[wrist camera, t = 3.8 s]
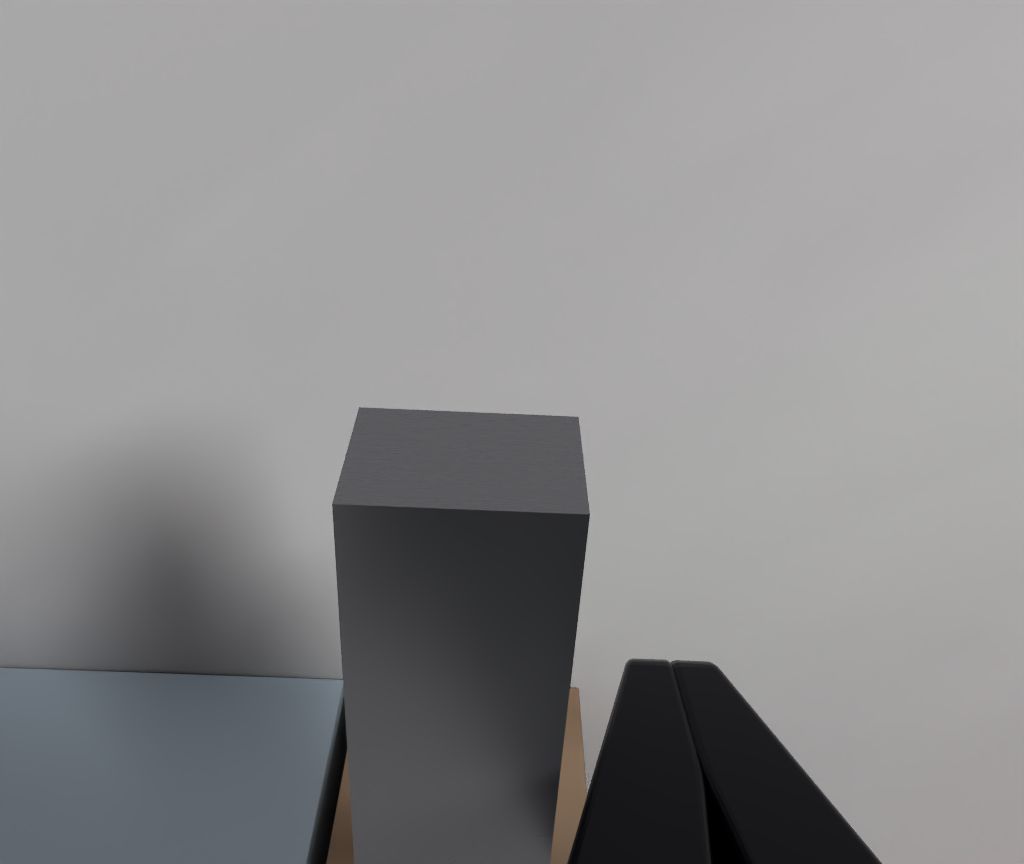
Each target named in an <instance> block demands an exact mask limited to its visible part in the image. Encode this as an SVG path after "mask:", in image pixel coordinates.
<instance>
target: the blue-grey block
mask: <svg viewBox="0 0 1024 864" xmlns="http://www.w3.org/2000/svg"><path fill="white" fill-rule="evenodd" d="M346 754H347V735H346V719H345V702H344V686H343V680H332V679H304V678H276V677H248V676H220V675H192V674H164V673H136V672H108V671H80V670H52V669H24V668H0V864H326V862H327V857H328V852H329V846H330V841H331V835H332V830H333V824H334V819H335V814H336V808H337V803H338V797H339V792H340V787H341V781H342V776H343V770H344V765H345V760H346Z"/></svg>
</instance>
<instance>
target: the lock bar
mask: <svg viewBox="0 0 1024 864" xmlns="http://www.w3.org/2000/svg"><path fill="white" fill-rule="evenodd" d="M332 506H333V522H334V539H335V555H336V571H337V588H338V604H339V621H340V637H341V653H342V670H343V686H344V702H345V719H346V735H347V751H348V768H349V784H350V800H351V817H352V833H353V849H354V864H550V859H551V850H552V841H553V833H554V824H555V815H556V806H557V797H558V789H559V780H560V771H561V762H562V754H563V745H564V736H565V727H566V718H567V710H568V701H569V692H570V683H571V674H572V666H573V657H574V648H575V639H576V631H577V622H578V613H579V604H580V595H581V587H582V578H583V569H584V560H585V552H586V543H587V534H588V525H589V516H590V513H589V504H588V495H587V487H586V478H585V470H584V461H583V453H582V444H581V435H580V427H579V418H578V417H569V416H545V415H522V414H499V413H475V412H452V411H429V410H405V409H382V408H359V410H358V414H357V417H356V421H355V425H354V428H353V432H352V435H351V439H350V443H349V446H348V450H347V453H346V457H345V461H344V464H343V468H342V471H341V475H340V478H339V482H338V486H337V489H336V493H335V496H334V500H333V504H332Z"/></svg>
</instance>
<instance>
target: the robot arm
mask: <svg viewBox="0 0 1024 864" xmlns="http://www.w3.org/2000/svg"><path fill="white" fill-rule="evenodd" d="M567 864H882V863H881V862H880V861H879V859H878V858H877V857H876V856H875V855H874V853H873V852H872V851H871V850H870V849H869V847H868V846H867V845H866V844H865V843H864V841H863V840H862V839H861V838H860V837H859V835H858V834H857V833H856V832H855V831H854V829H853V828H852V827H851V826H850V825H849V823H848V822H847V821H846V820H845V819H844V817H843V816H842V815H841V814H840V813H839V811H838V810H837V809H836V808H835V807H834V805H833V804H832V803H831V802H830V801H829V800H828V798H827V797H826V796H825V795H824V794H823V792H822V791H821V790H820V789H819V788H818V786H817V785H816V784H815V783H814V782H813V780H812V779H811V778H810V777H809V776H808V774H807V773H806V772H805V771H804V770H803V768H802V767H801V766H800V765H799V764H798V762H797V761H796V760H795V759H794V758H793V756H792V755H791V754H790V753H789V752H788V750H787V749H786V748H785V747H784V746H783V744H782V743H781V742H780V741H779V740H778V738H777V737H776V736H775V735H774V734H773V732H772V731H771V730H770V729H769V728H768V726H767V725H766V724H765V723H764V722H763V720H762V719H761V718H760V717H759V716H758V714H757V713H756V712H755V711H754V710H753V708H752V707H751V706H750V705H749V704H748V702H747V701H746V700H745V699H744V698H743V696H742V695H741V694H740V693H739V692H738V690H737V689H736V688H735V687H734V686H733V684H732V683H731V682H730V681H729V680H728V678H727V677H726V676H725V675H724V674H723V672H722V671H721V670H720V669H719V668H718V667H717V666H716V665H714V664H713V663H711V662H704V661H680V660H675V661H672V662H671V663H670V662H669V661H667V660H655V659H630V660H629V661H628V662H627V663H626V665H625V668H624V671H623V675H622V678H621V682H620V685H619V688H618V692H617V695H616V699H615V702H614V705H613V709H612V712H611V716H610V719H609V722H608V726H607V729H606V733H605V736H604V739H603V743H602V746H601V750H600V753H599V757H598V760H597V763H596V767H595V770H594V774H593V777H592V780H591V784H590V787H589V791H588V794H587V797H586V801H585V804H584V808H583V811H582V814H581V818H580V821H579V825H578V828H577V831H576V835H575V838H574V842H573V845H572V849H571V852H570V855H569V859H568V862H567Z"/></svg>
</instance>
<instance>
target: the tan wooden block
mask: <svg viewBox="0 0 1024 864" xmlns="http://www.w3.org/2000/svg"><path fill="white" fill-rule="evenodd" d="M586 797H587V789H586V776H585V763H584V751H583V738H582V725H581V713H580V700H579V688H570V692H569V701H568V710H567V718H566V727H565V736H564V745H563V754H562V762H561V771H560V780H559V789H558V797H557V806H556V815H555V824H554V833H553V841H552V850H551V859H550V864H567V862H568V859H569V855H570V852H571V849H572V845H573V842H574V838H575V835H576V831H577V828H578V825H579V821H580V818H581V814H582V811H583V808H584V804H585V801H586ZM326 864H354V849H353V833H352V817H351V800H350V784H349V768H348V751H347V754H346V760H345V765H344V770H343V776H342V781H341V787H340V792H339V797H338V803H337V808H336V814H335V819H334V824H333V830H332V835H331V841H330V846H329V852H328V857H327V862H326Z"/></svg>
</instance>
